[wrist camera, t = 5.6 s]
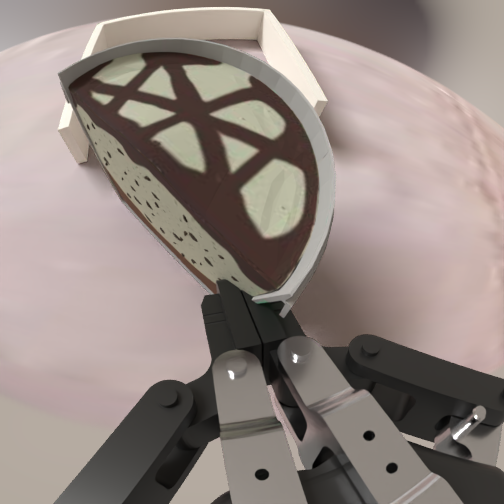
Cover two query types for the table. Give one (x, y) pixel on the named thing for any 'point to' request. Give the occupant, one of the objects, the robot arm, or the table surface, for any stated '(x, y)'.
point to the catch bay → (202, 28)
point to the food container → (212, 159)
